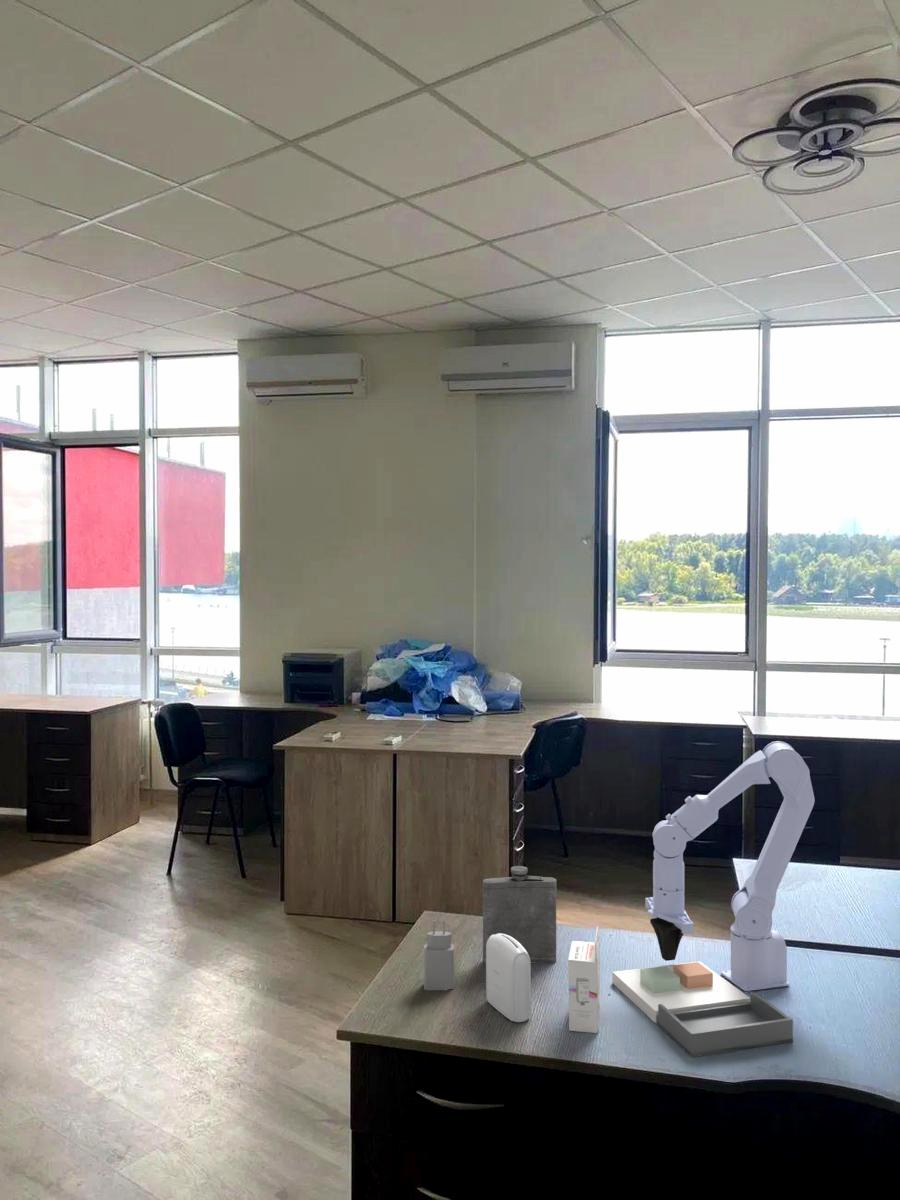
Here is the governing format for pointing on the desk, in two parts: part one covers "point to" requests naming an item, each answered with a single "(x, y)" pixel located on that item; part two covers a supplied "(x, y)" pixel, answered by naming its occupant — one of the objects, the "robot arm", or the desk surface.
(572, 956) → the ink cartridge box
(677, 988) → the sage-green tile
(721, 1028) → the box
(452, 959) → the power adapter
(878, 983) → the desk surface
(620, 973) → the white board
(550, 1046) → the desk surface
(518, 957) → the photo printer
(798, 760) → the robot arm
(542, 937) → the flask
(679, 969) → the terracotta tile
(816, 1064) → the desk surface
